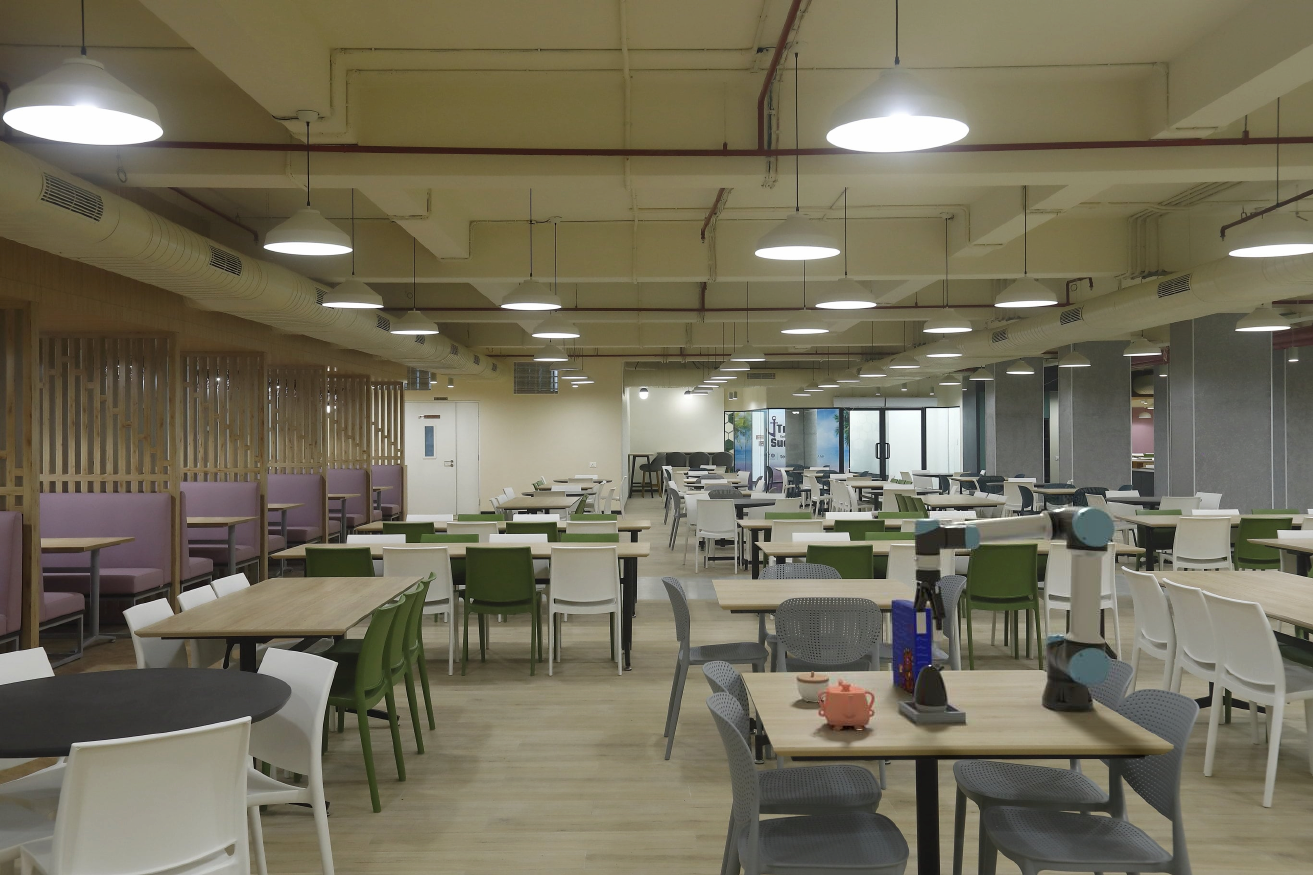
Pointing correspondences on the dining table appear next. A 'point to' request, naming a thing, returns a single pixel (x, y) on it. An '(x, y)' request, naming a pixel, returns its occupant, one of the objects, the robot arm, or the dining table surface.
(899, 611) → the cereal box
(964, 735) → the dining table surface
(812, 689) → the lidded jar
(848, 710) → the teapot
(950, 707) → the tray
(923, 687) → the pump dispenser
